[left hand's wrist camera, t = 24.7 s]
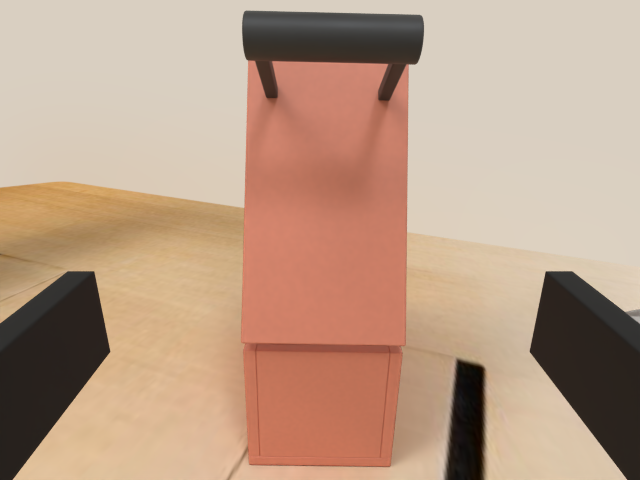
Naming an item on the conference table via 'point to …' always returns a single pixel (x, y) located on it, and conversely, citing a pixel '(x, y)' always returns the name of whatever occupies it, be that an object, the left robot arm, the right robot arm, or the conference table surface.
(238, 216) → the conference table surface
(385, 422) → the chest
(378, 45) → the lid
